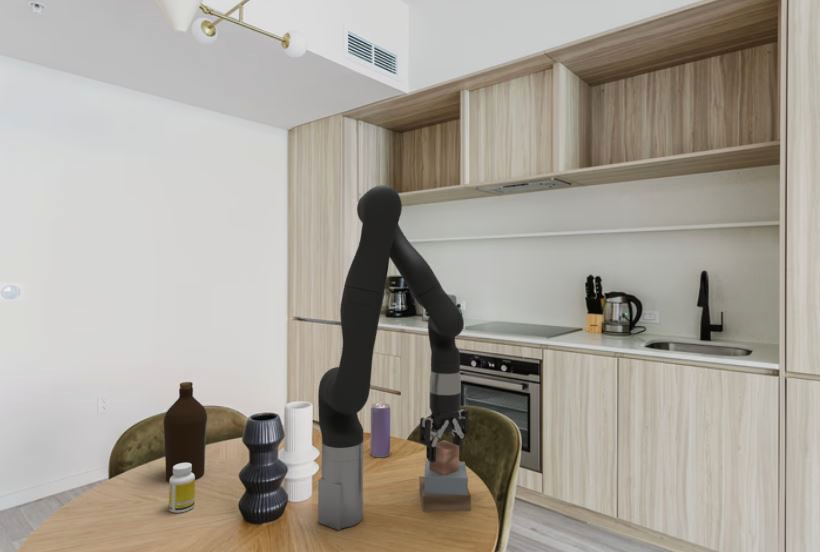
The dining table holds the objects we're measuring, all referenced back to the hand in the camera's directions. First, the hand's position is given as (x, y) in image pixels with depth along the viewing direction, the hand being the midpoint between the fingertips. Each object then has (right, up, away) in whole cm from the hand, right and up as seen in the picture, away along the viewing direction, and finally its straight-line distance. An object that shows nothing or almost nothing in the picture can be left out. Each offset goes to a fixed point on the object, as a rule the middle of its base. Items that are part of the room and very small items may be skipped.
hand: (444, 457), depth 116 cm
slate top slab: (0, -7, +1) cm, 7 cm away
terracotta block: (0, -3, 0) cm, 3 cm away
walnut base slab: (0, -11, +1) cm, 11 cm away
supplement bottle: (-61, -10, -4) cm, 62 cm away
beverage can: (-17, -11, +30) cm, 37 cm away
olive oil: (-69, -10, +14) cm, 71 cm away
